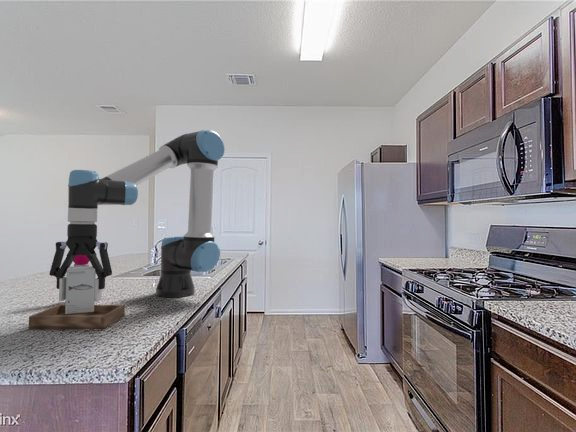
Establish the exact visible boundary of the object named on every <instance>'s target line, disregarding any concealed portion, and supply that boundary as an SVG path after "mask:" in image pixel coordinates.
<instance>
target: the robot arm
mask: <svg viewBox="0 0 576 432" xmlns="http://www.w3.org/2000/svg"><path fill="white" fill-rule="evenodd" d="M225 150H226V149H225V144H224V141H223V139H222V138H221V136H220V134H218V133H217V132H216V131H214V130H211V129H207V130H206V129H205V130H203V129H202V130H199V131H194V132H191V133H190V132H189V133H184V134H182V135H179V136H177V137H175V138H173V139H172V140H170V141H169V142H166V143H165V144H162V145H161V146H160V147H158V150H157V151H154V152H153V153H150V154H148V155H146V156H144V157H143V158H140V159H139V160H136V161H134V162H133V163H130V164H128V165H127V166H124V167H122V168H121V169H118V170H116V171H114V172H112V173H110V174H108V175H107V176H104V177H102V178H100V177H99V172H97V171H95V170H94V171H93V170H89V169H73V170H71V171H70V172H69V176H68V185H67V187H68V191H67V193H68V206H67V208H68V209H67V210H68V211H67V222H68V223H69V224H67V229H66V230H67V231H66V235H67V240H66V241H56V242H55V252H54V255H53V259H52V263H51V266H50V270H49V276H51V277H55V278H56V286H55V287H56V289H57V290H58V293H59V294H58V302H63V301H66V276H67V269H68V267H71V265H72V263H74V262H73V260H74V258H75V257H76V256H77V255H84V256H87V258H88V259H89V260H90V261H89V262H90V263H91V264H90V265H91V266H93V268H94V269H95V272H96V275H97V277H95V302H99V301H101V300H102V296H103V295H102V294H103V290H104V289H105V288H106V278H107V277H110V276H112V275H113V270H112V265H111V261H110V258H109V257H110V256H109V253H108V252H109V251H108V246H109V243H108V242H107V241H106V242H100V241H98V240H97V236H98V225H97V224H95V223H97V222H98V208H99V207H98V206H103V205H104V206H105V205H107V206H108V205H109V206H110V205H111V206H112V205H113V206H114V205H115V206H116V205H119V206H132V205H134V204H135V203H136V202H137V200H138V196H139V189H138V185H140V184H141V183H143V182H145V181H147V180H149V179H151V178H153V177H154V176H157V175H159V174H160V173H162V172H164V171H166V170H167V169H169V168H170V169H175V168H176V167H179V166H181V165H185V164H186V166H187V167H188V168H189V169H190V183H189V202H188V219H187V220H188V222H187V223H188V225H187V232H186V233H185V234H183V236H171V237H170V236H169V237H165V238H163V239H162V240H161V245H160V246H161V247H160V249H161V251H160V253H161V255H160V256H161V257H160V259H161V260H160V277H159V279H158V282H157V285H156V288H155V296H157V297H162V298H180V297H188V296H189V297H190V296H192V295H195V293H196V292H195V291H196V289H195V284H194V281H193V277H192V274H191V273H192V272H191V271H193V272H196V273H208V272H209V271H212V270H213V269H214V268H215V267H216V266H217V265H218V263H219V261H220V258H221V249H220V247H219V245H218V244H217V243H216V242H215V235H214V234H213V233H212V215H213V214H212V213H213V212H212V211H213V193H214V192H213V191H214V190H213V189H214V187H213V186H214V171H215V170H216V169H217V168H218V166H219V165H218V161H219V160H221V159H222V157H224V154H225ZM67 248H68V251H67V254H66V257H65V259H64V261H63V258H64V256H65V253H66V249H67ZM96 248H97V249H98V251H99V252H98V253H99V257H100V260H99V258H98V256H97V252H96V250H95V249H96ZM100 261H101V262H100Z"/></svg>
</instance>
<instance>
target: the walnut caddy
mask: <svg viewBox="0 0 576 432" xmlns="http://www.w3.org/2000/svg"><path fill="white" fill-rule="evenodd" d="M65 305H66V303H64V304H60V303H59V304H56V305H54V306H51V307H49V308H46V309H45V310H42V311H40V312H37V313H35V314H32V315H29V316H28V330H31V331H32V330H33V331H34V330H38V331H39V330H41V331H42V330H45V331H46V330H50V331H51V330H52V329H53V330H52V331H55V330H56V331H59V330H61V331H62V330H64V329H65V330H66V329H90V330H89V331H96V330H95V329H105V330H107V329H108V328H110V327H111V326H112V325H113V323H114V324H115V323H117V322H118V321H120V320H122V319H123V318H124V317H125V316H126V305H125V304H94V312H85V313H72V314H65ZM110 325H111V326H110ZM107 327H108V328H107ZM54 329H55V330H54ZM91 329H92V330H91ZM65 330H64V331H65Z"/></svg>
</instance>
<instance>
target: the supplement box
mask: <svg viewBox="0 0 576 432" xmlns="http://www.w3.org/2000/svg"><path fill="white" fill-rule="evenodd" d="M96 275H97V274H96V272H95V269H94V268H93V266H92V265H89V266H79V267H74V266H70V267H68V269H67V272H66V276H65V277H66V300H65V304H66V305H65V314H72V313H85V312H94V305H95V302H96V301H95V279H96Z"/></svg>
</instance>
